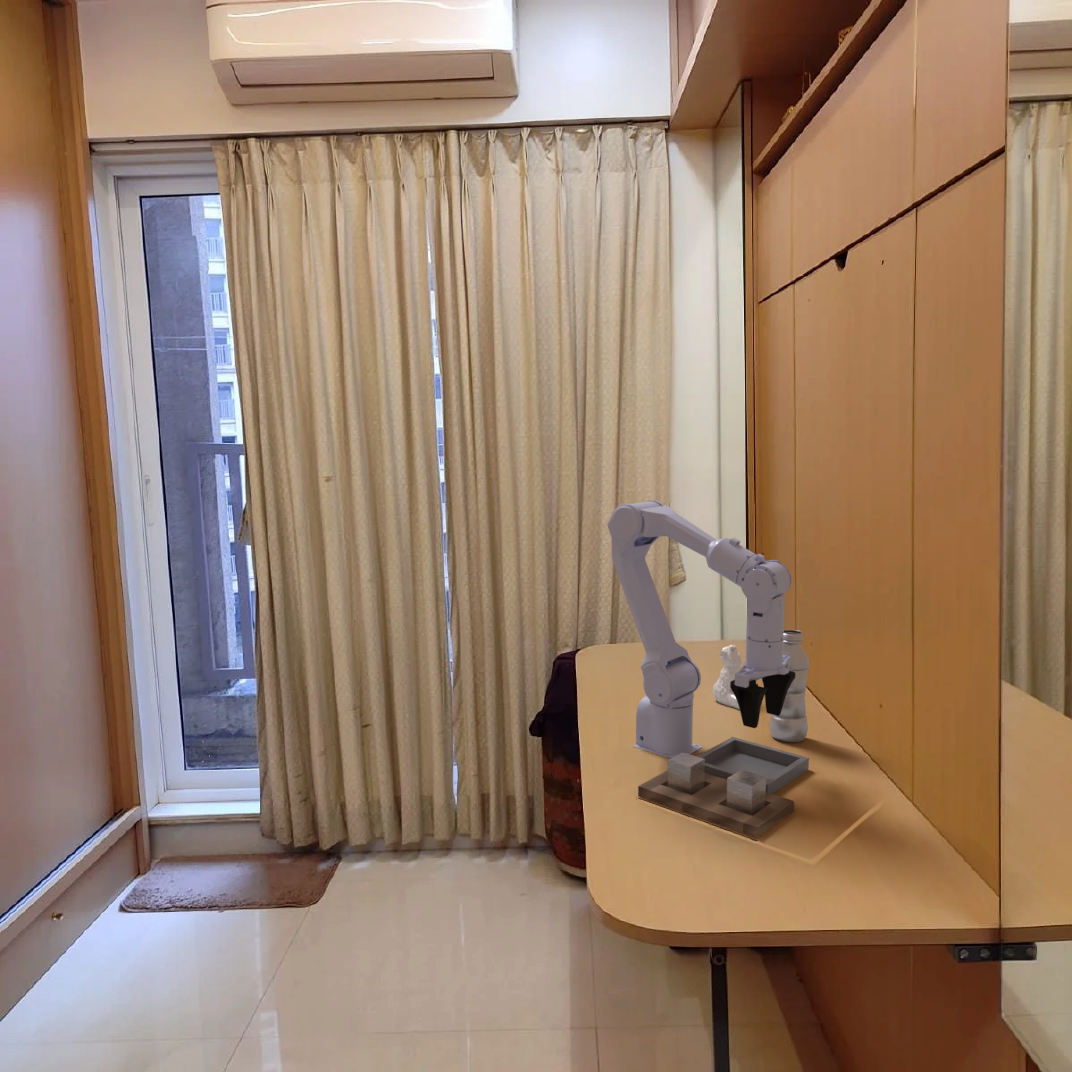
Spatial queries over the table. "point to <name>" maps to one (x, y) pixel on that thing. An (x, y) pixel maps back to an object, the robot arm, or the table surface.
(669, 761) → the block
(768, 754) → the tray
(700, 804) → the wooden board with recesses
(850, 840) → the table surface
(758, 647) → the robot arm
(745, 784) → the block
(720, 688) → the sitting furry creature
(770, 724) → the plastic bottle
